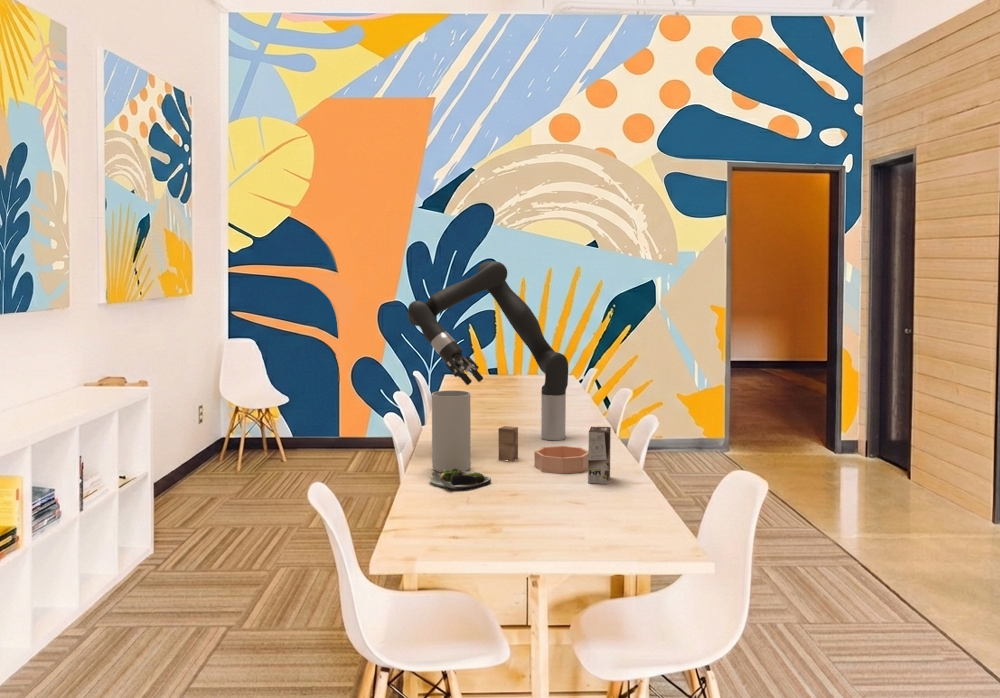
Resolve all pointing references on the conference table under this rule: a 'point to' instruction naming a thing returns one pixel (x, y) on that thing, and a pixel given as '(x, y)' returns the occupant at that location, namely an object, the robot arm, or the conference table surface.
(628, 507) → the conference table surface
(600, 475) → the coffee box
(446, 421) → the cylinder vase
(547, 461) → the bowl
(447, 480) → the salad plate
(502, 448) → the walnut block
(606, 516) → the conference table surface
